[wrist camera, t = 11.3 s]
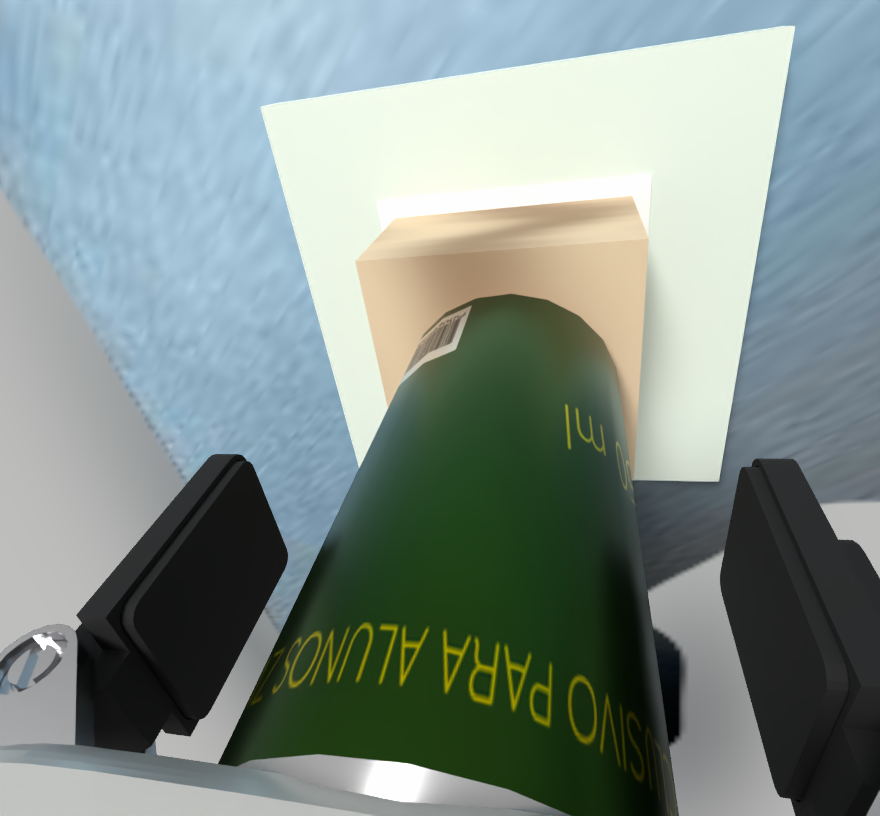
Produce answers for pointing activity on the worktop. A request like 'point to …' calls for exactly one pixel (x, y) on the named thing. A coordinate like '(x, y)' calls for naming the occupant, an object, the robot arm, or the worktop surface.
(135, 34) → the worktop surface
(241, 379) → the worktop surface
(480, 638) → the beer can
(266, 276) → the worktop surface
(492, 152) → the board
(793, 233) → the worktop surface
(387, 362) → the oak block
